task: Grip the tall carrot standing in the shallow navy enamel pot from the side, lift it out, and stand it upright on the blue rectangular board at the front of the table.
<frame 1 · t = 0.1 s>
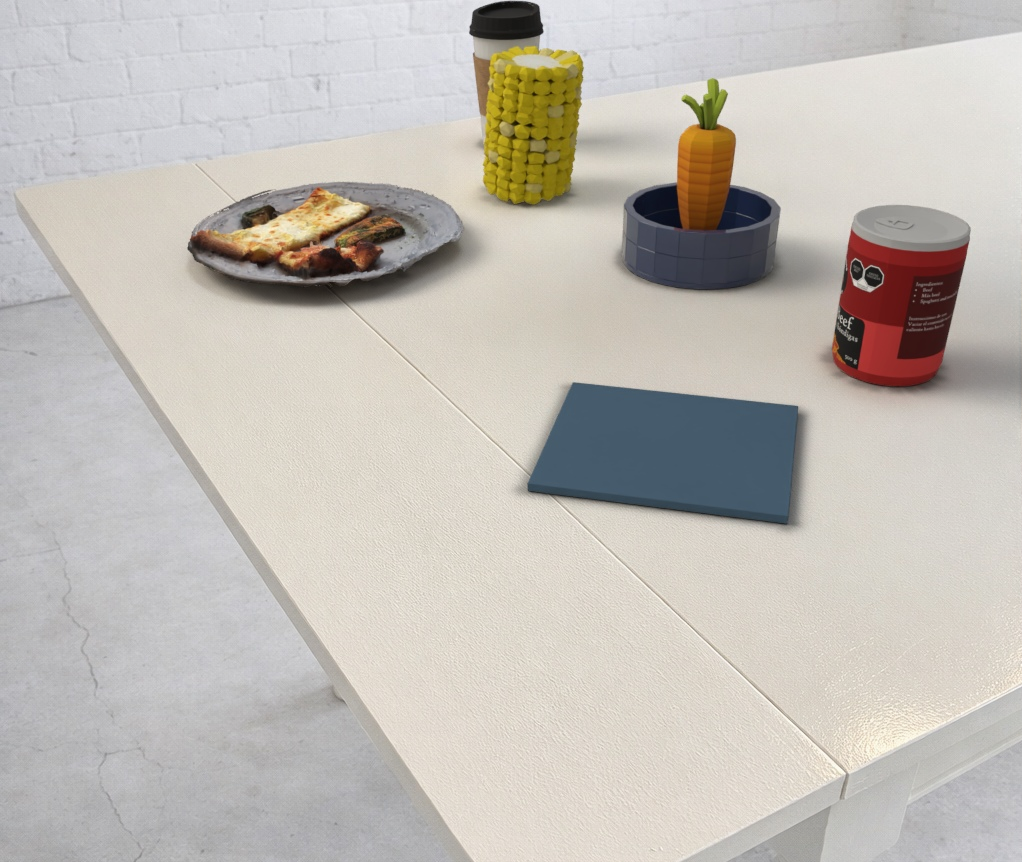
food plate: (327, 252, 106), on the table
canned food: (883, 367, 85), on the table
food: (532, 194, 118), on the table
coffee cup: (507, 145, 134), on the table
pot: (697, 259, 102), on the table
carrot: (697, 256, 102), resting in pot
blue rectangular board: (669, 450, 75), on the table
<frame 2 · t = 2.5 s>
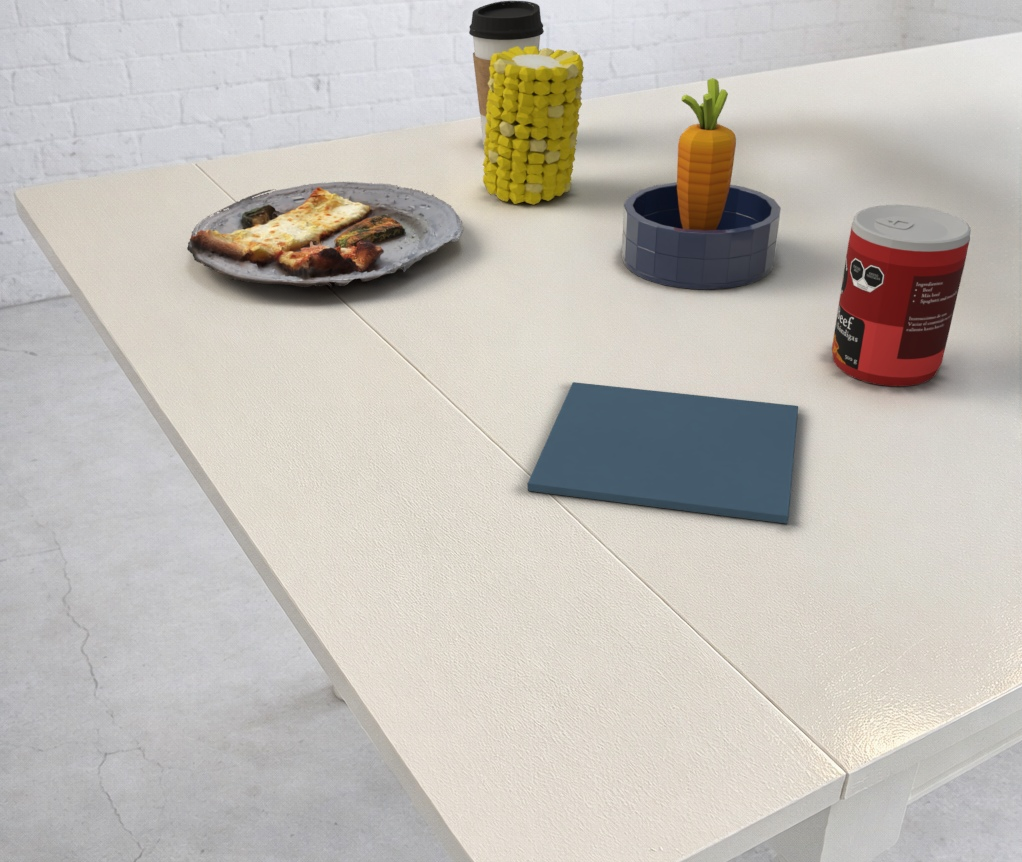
nothing on the table moved.
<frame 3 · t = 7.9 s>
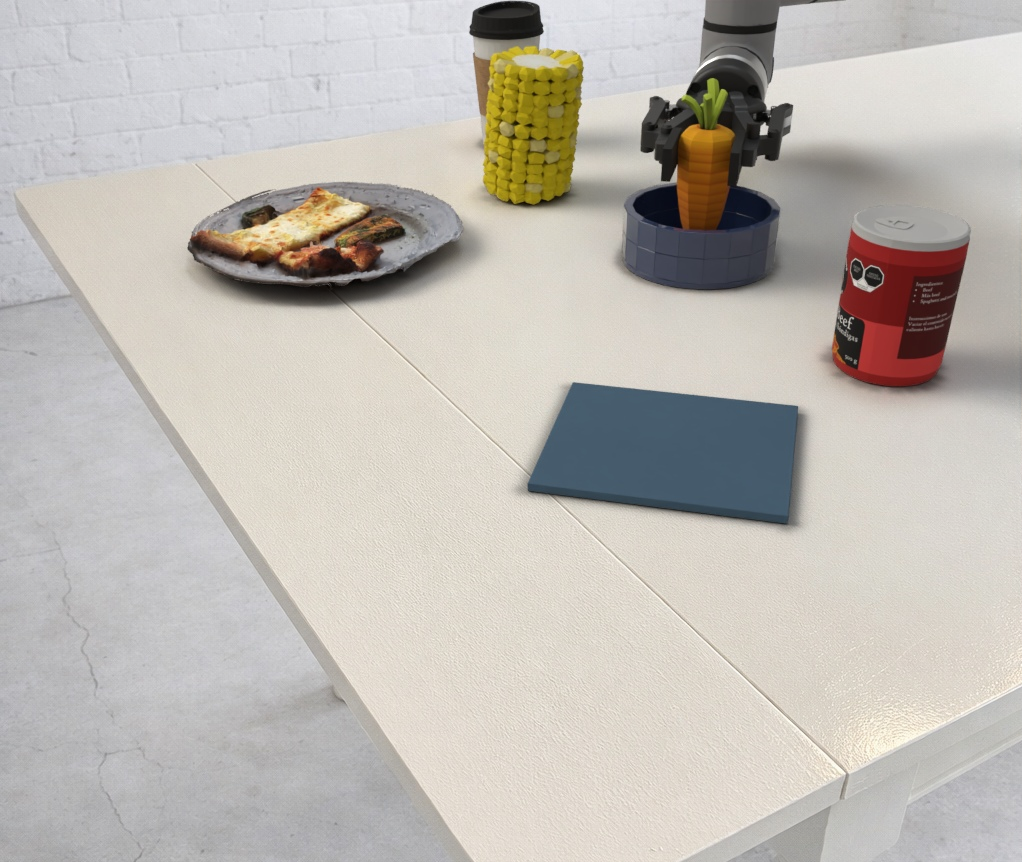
hand: (699, 167, 92), 10 cm above the table, tool horizontal, fingers closed on carrot, 5 cm apart
carrot: (697, 256, 102), resting in pot, touching gripper
everything else where it was.
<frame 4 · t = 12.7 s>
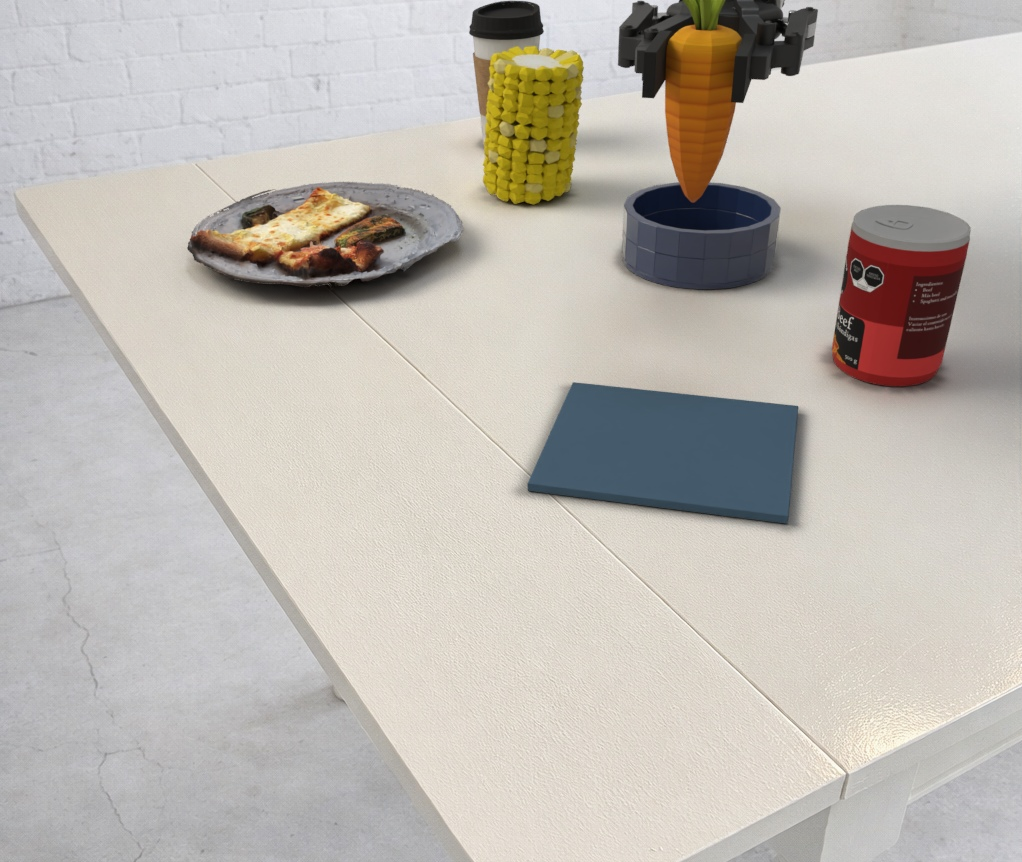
hand: (693, 77, 69), 22 cm above the table, tool horizontal, fingers closed on carrot, 5 cm apart
carrot: (692, 204, 78), point 12 cm above the table, touching gripper
everything else where it was.
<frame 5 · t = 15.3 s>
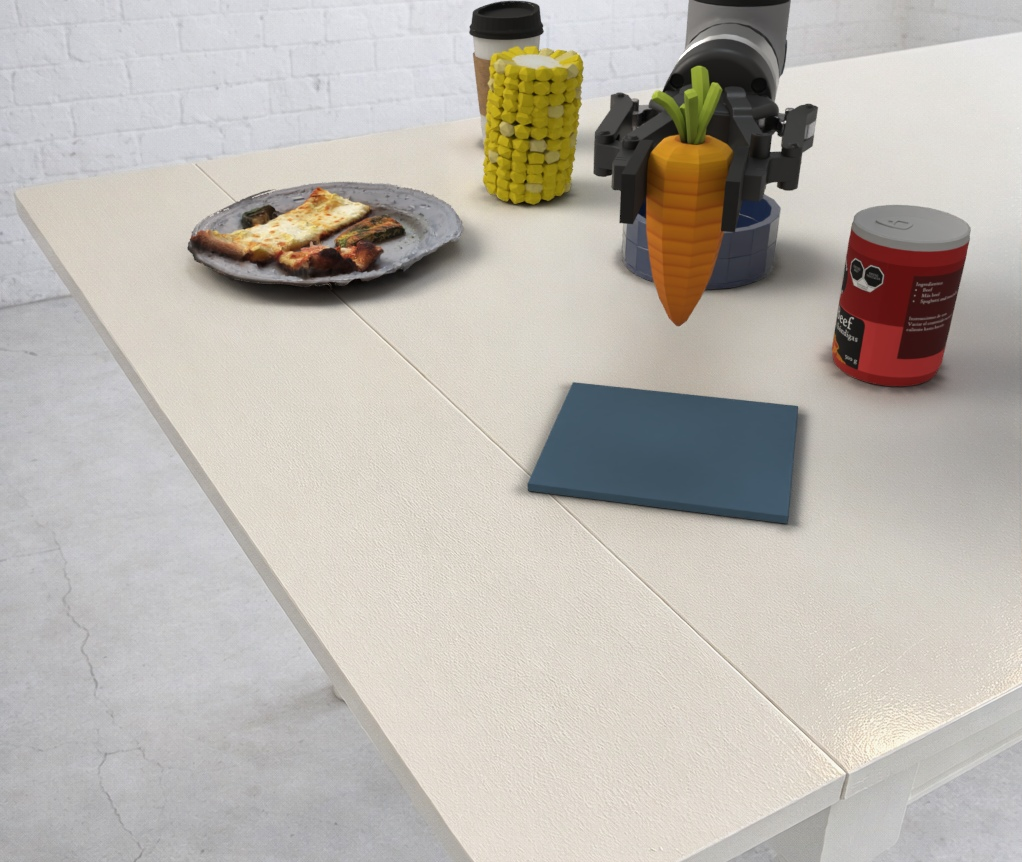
hand: (678, 202, 60), 18 cm above the table, tool horizontal, fingers closed on carrot, 5 cm apart
carrot: (677, 328, 70), point 9 cm above the table, touching gripper
everything else where it was.
when the fingers open (10 cm above the table, at t = 17.8 s): carrot stays where it is, resting on blue rectangular board.
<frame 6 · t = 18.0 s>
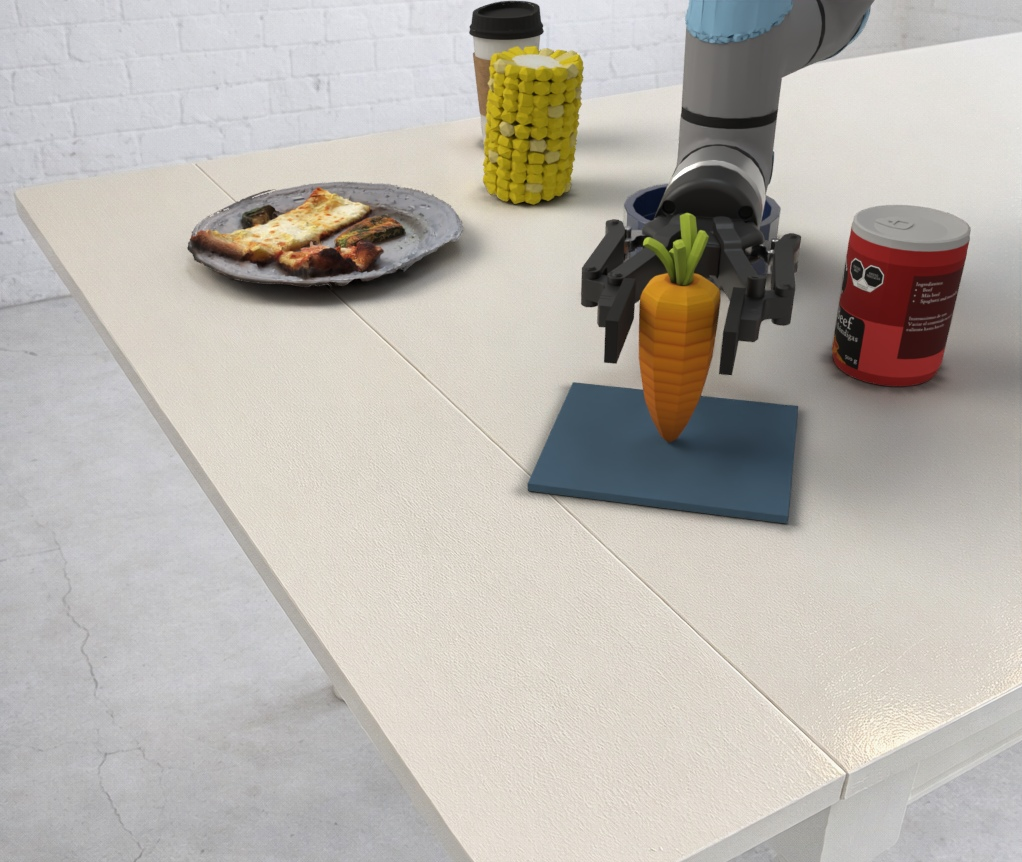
hand: (668, 347, 65), 10 cm above the table, tool horizontal, fingers open, 6 cm apart
carrot: (669, 444, 74), resting on blue rectangular board
everything else where it was.
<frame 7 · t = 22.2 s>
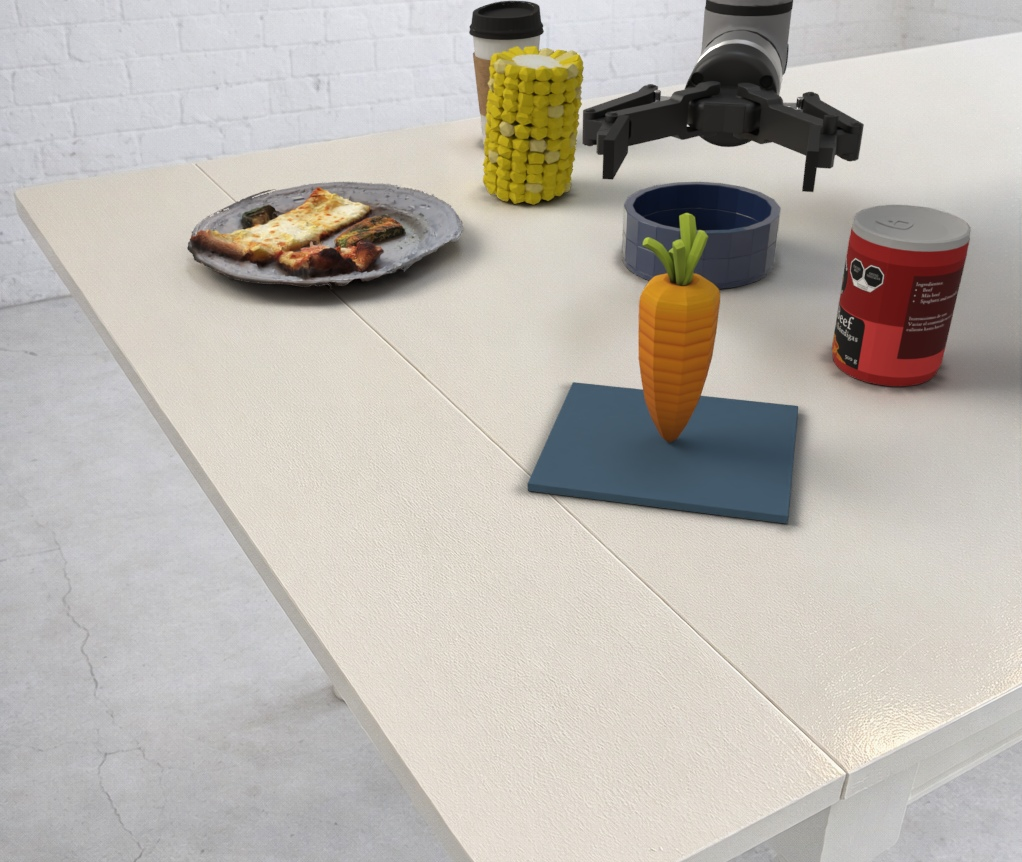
hand: (707, 165, 76), 15 cm above the table, tool horizontal, fingers open, 13 cm apart
nothing on the table moved.
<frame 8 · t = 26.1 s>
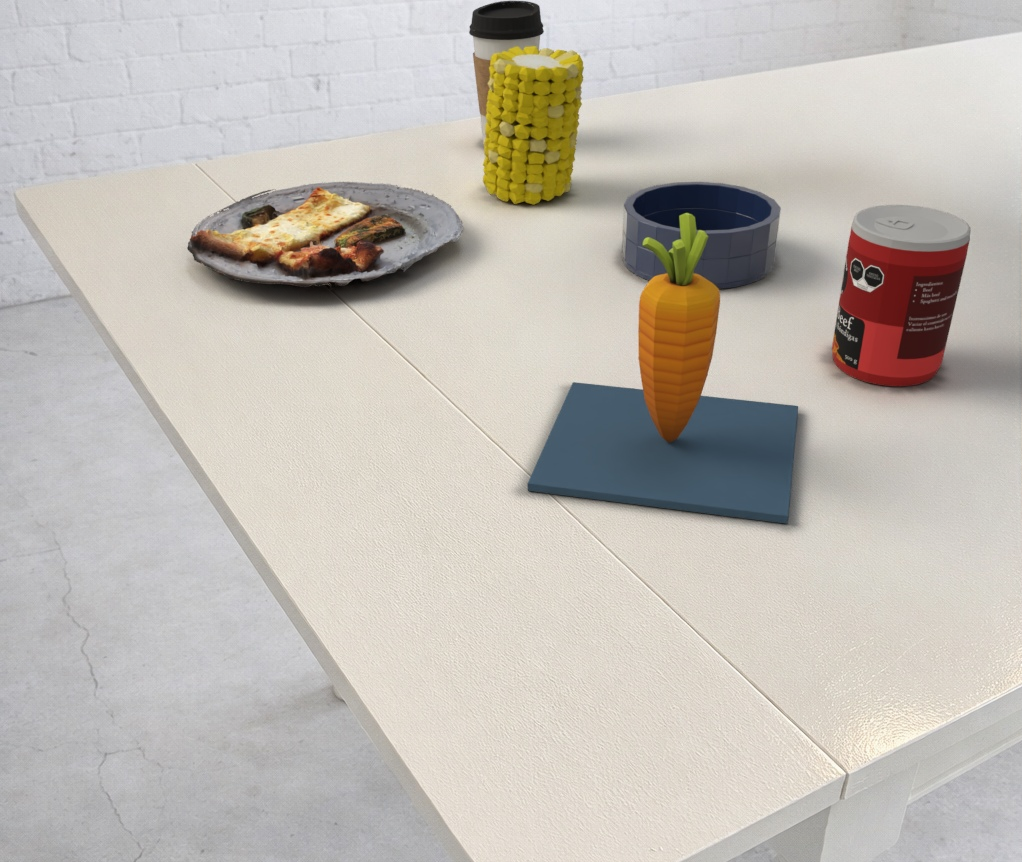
nothing on the table moved.
at the end: carrot inside the target area on the blue rectangular board (0.1 cm from its centre), point 0.4 cm above the blue rectangular board's base; carrot tilted 0°; the gripper is holding nothing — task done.
